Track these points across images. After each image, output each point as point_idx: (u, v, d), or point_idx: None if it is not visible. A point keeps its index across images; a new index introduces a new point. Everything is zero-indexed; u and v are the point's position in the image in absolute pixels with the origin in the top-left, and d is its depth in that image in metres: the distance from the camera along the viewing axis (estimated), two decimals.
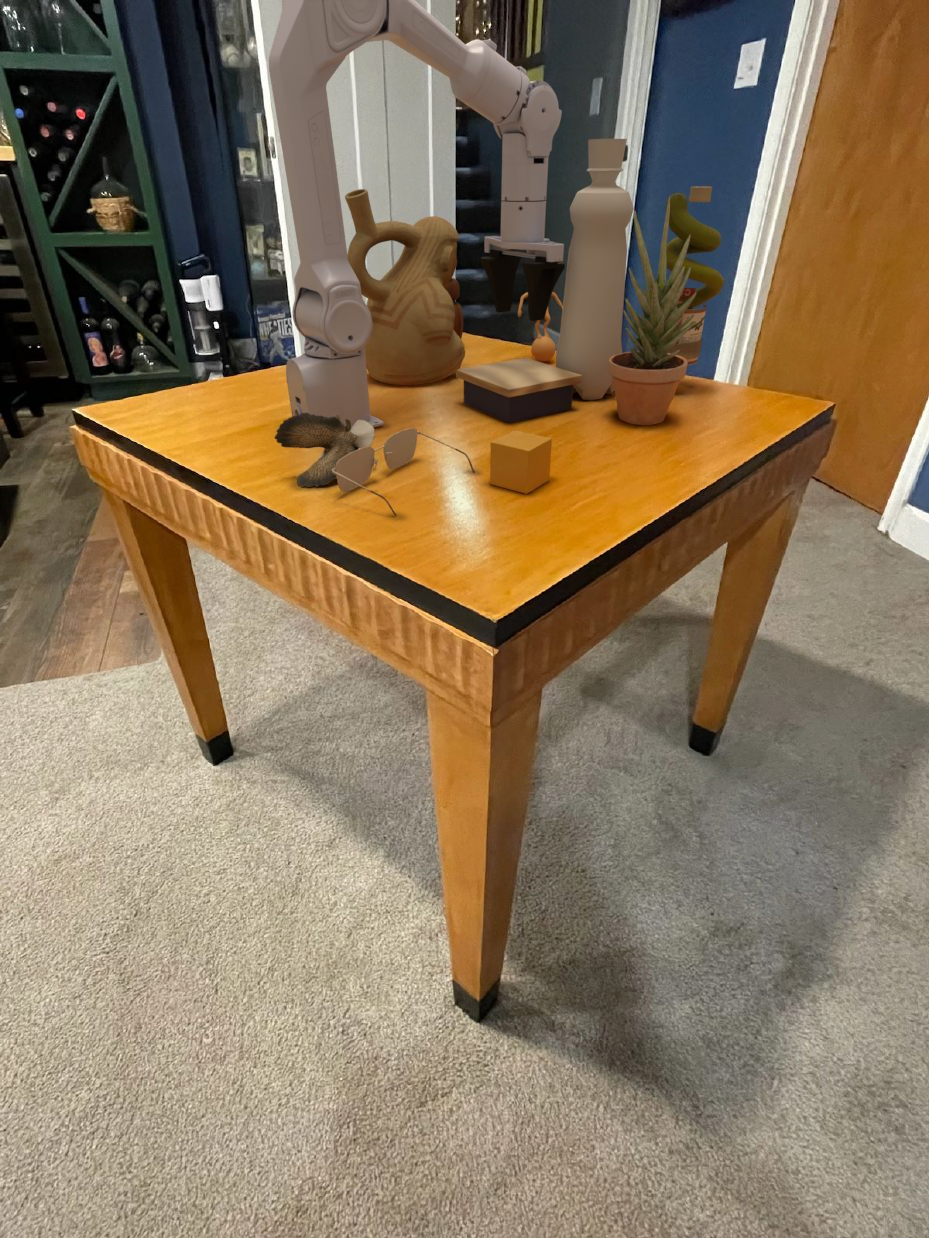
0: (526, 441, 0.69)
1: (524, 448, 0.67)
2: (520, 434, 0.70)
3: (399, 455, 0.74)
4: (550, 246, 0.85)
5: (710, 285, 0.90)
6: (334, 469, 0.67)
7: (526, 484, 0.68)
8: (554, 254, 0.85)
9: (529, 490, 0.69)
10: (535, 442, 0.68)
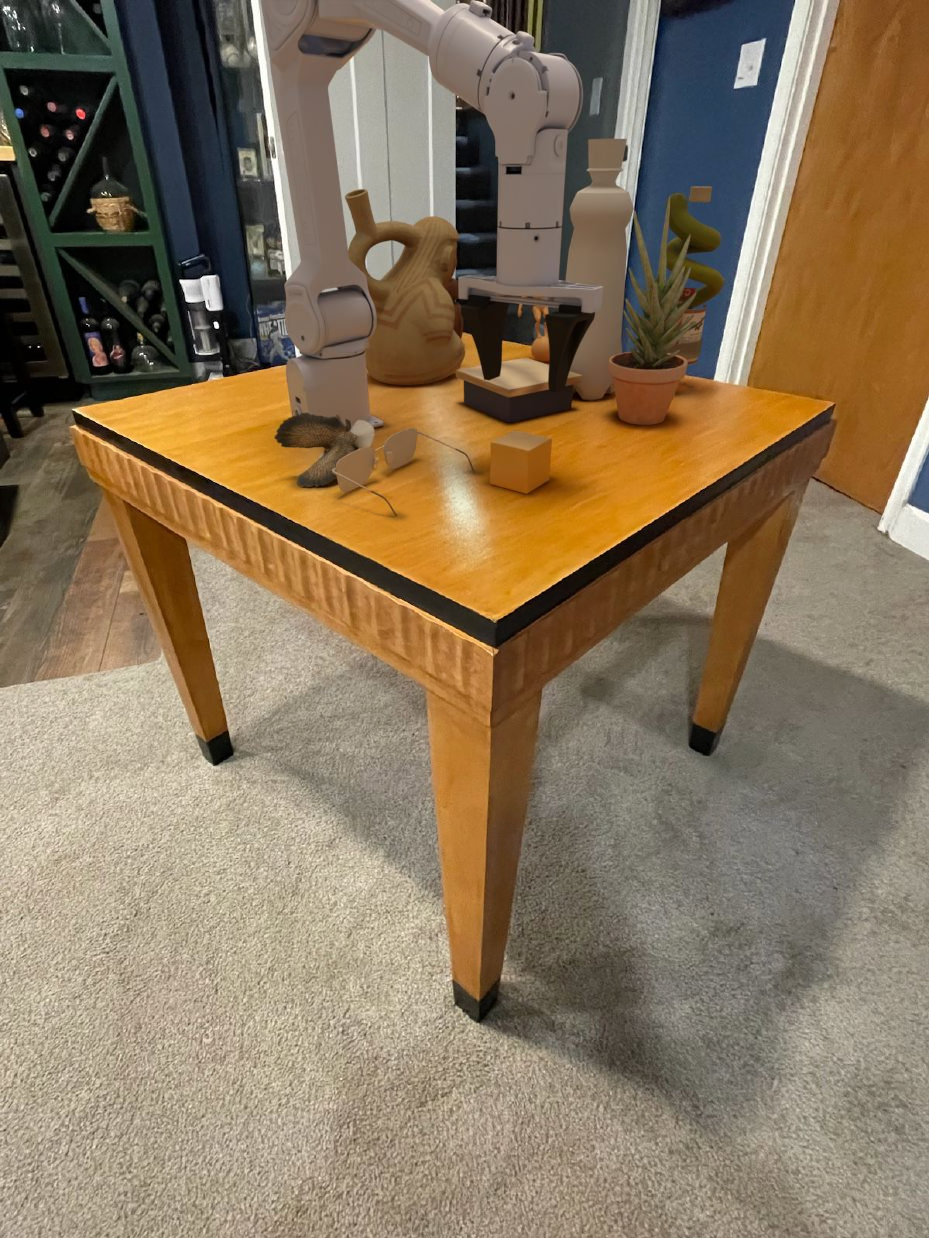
0: (526, 441, 0.69)
1: (524, 448, 0.67)
2: (520, 434, 0.70)
3: (399, 455, 0.74)
4: (590, 291, 0.59)
5: (710, 285, 0.90)
6: (334, 469, 0.67)
7: (526, 484, 0.68)
8: (594, 302, 0.60)
9: (529, 490, 0.69)
10: (535, 442, 0.68)
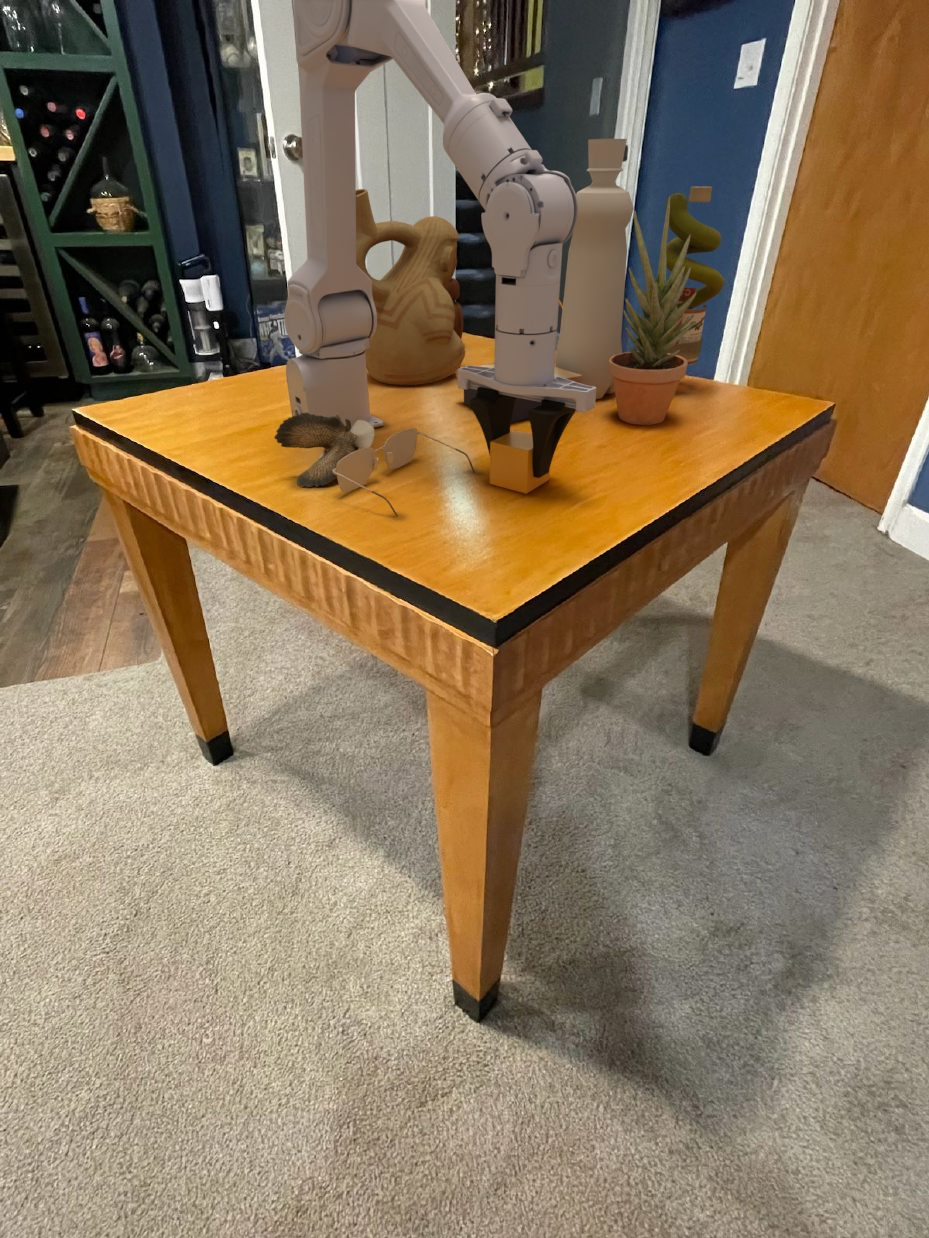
0: (526, 441, 0.69)
1: (524, 448, 0.67)
2: (520, 434, 0.70)
3: (399, 455, 0.74)
4: (583, 393, 0.62)
5: (710, 285, 0.90)
6: (335, 469, 0.67)
7: (526, 484, 0.68)
8: (588, 402, 0.62)
9: (529, 490, 0.69)
10: None
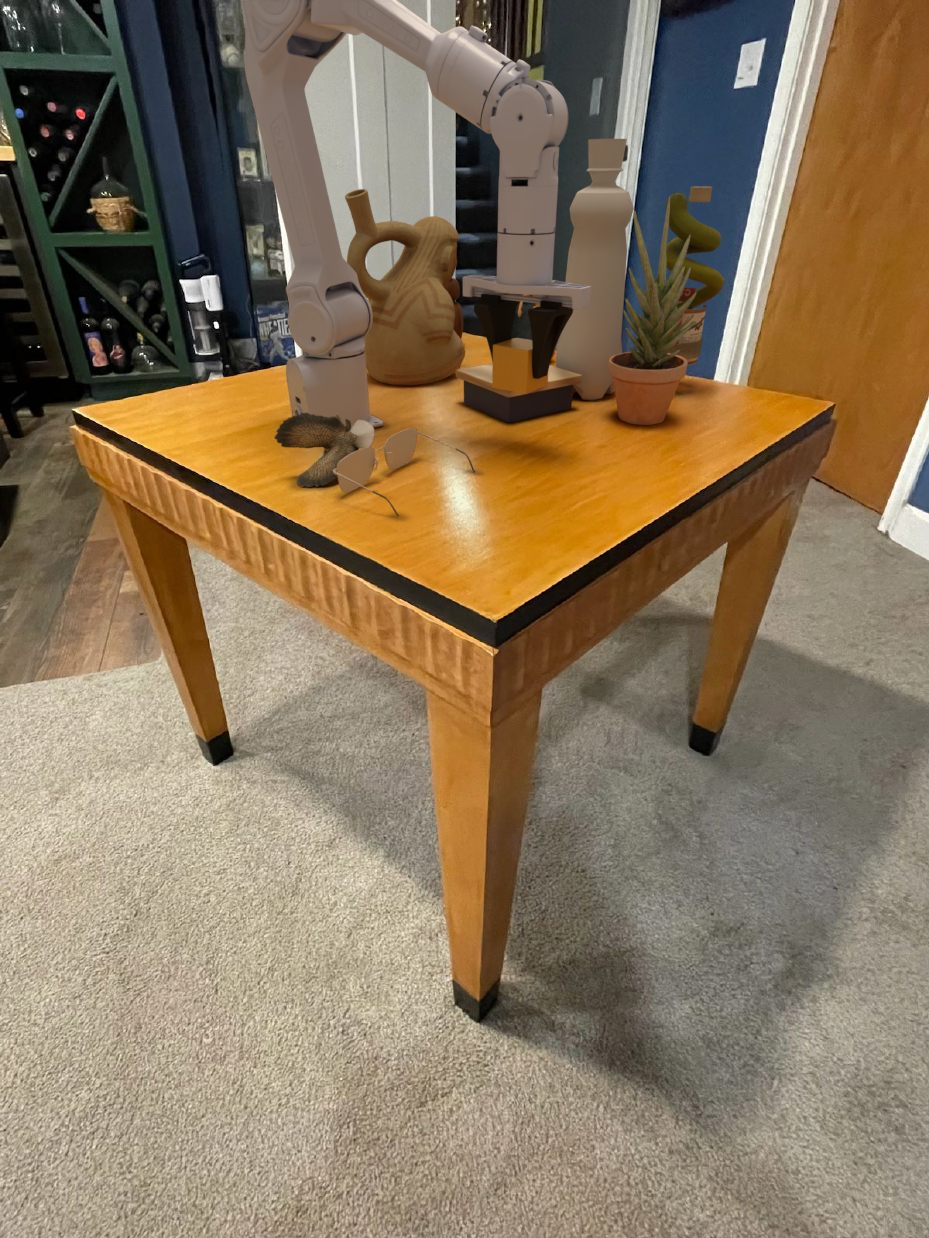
0: (526, 344, 0.74)
1: (524, 349, 0.72)
2: (520, 340, 0.75)
3: (399, 455, 0.74)
4: (579, 290, 0.67)
5: (710, 285, 0.90)
6: (335, 470, 0.67)
7: (526, 384, 0.73)
8: (583, 300, 0.67)
9: (528, 390, 0.74)
10: None
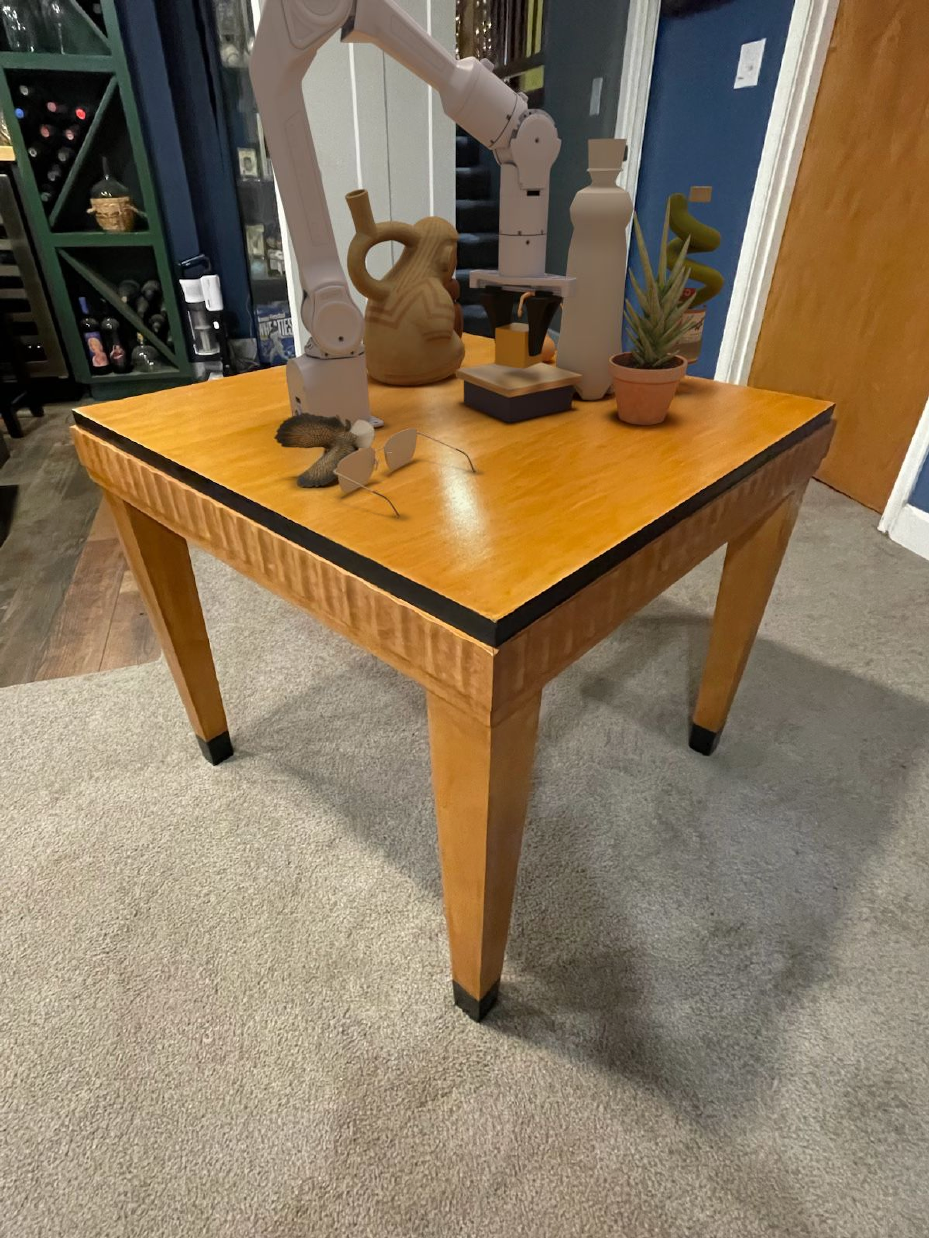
0: (523, 328, 0.88)
1: (522, 331, 0.86)
2: (518, 324, 0.89)
3: (399, 455, 0.74)
4: (567, 281, 0.81)
5: (710, 285, 0.90)
6: (336, 470, 0.67)
7: (523, 361, 0.88)
8: (570, 289, 0.81)
9: (525, 366, 0.88)
10: None
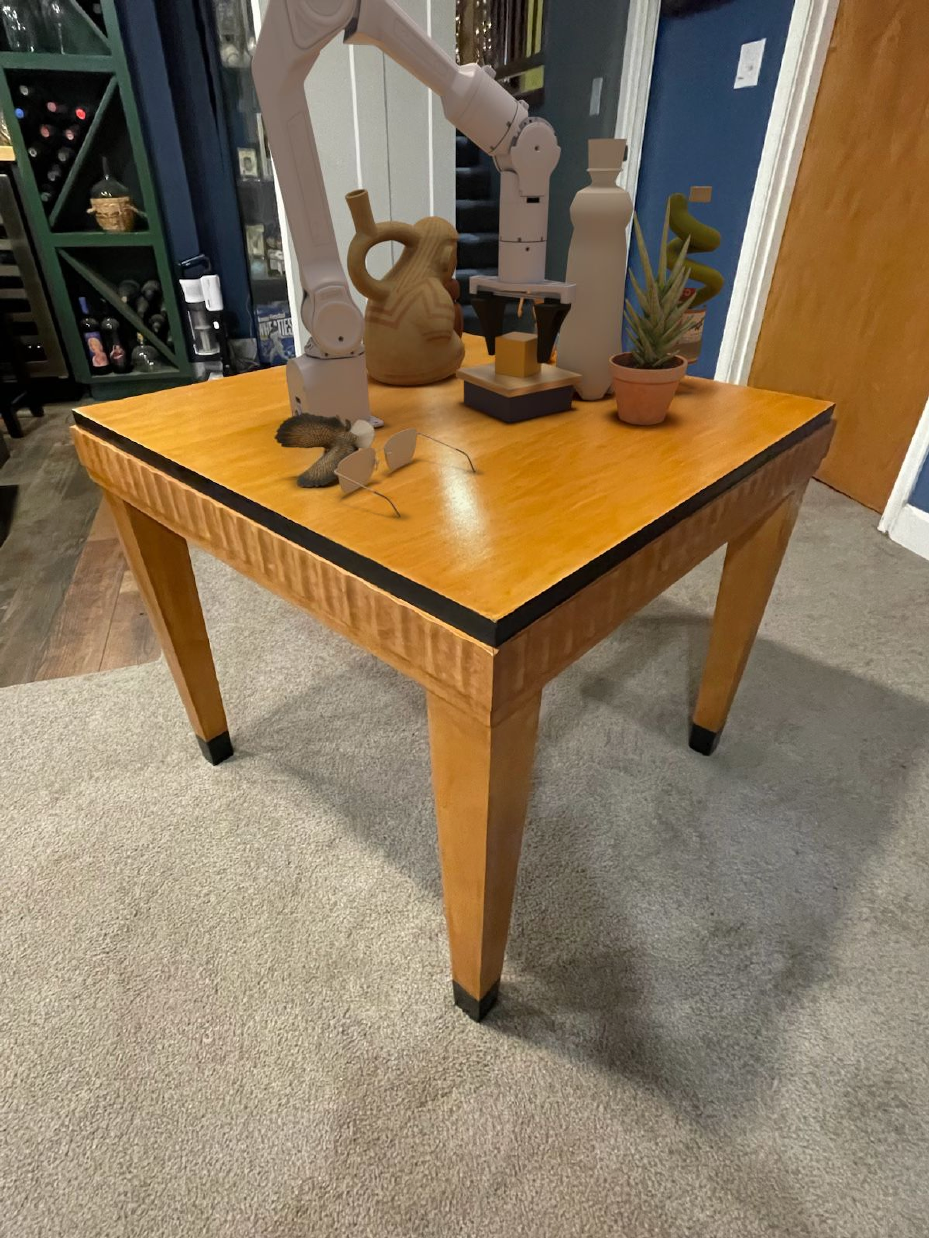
0: (523, 337, 0.88)
1: (521, 340, 0.87)
2: (518, 333, 0.90)
3: (399, 455, 0.74)
4: (566, 288, 0.81)
5: (710, 285, 0.90)
6: (336, 470, 0.66)
7: (523, 370, 0.88)
8: (570, 295, 0.82)
9: (525, 375, 0.89)
10: (530, 337, 0.88)
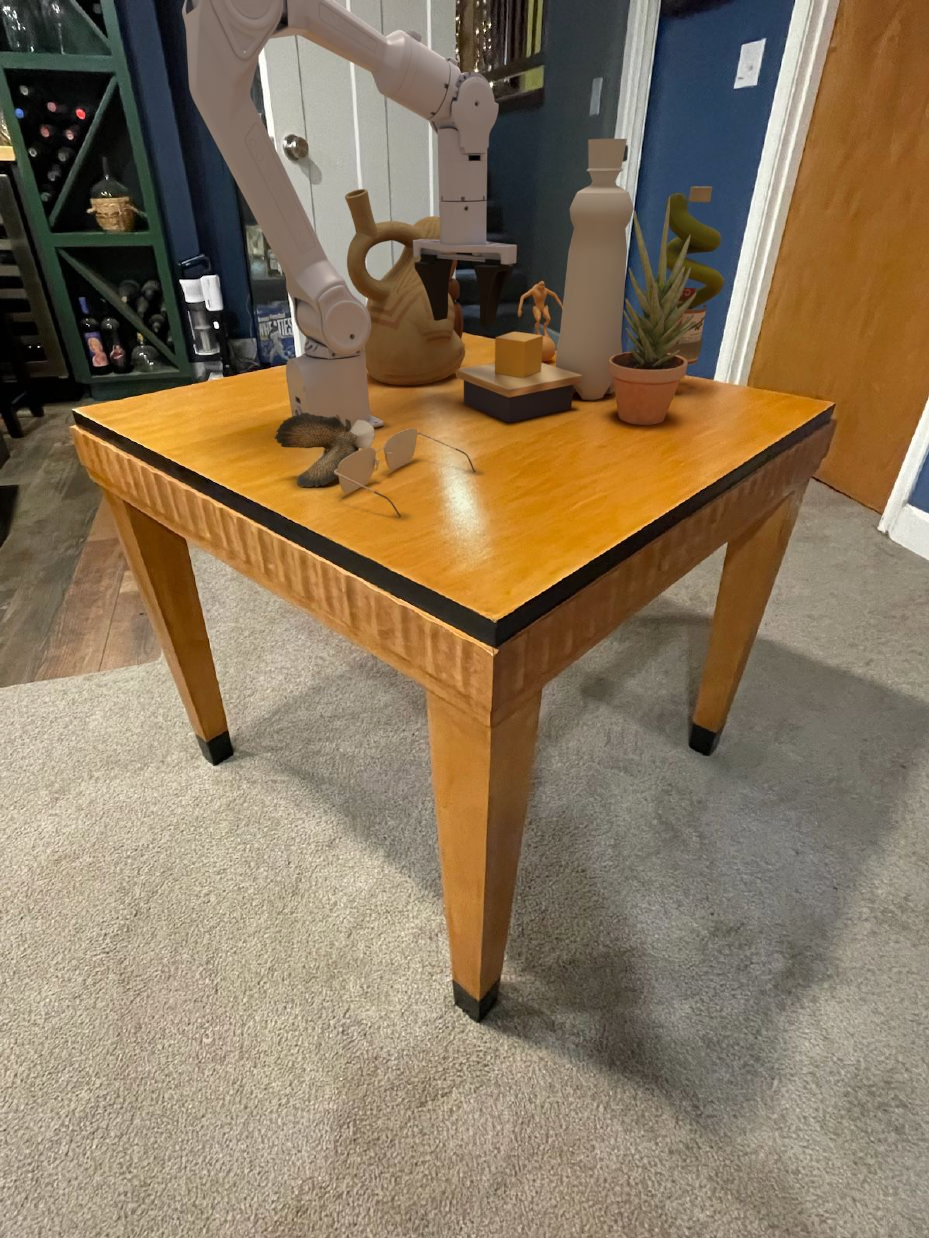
0: (523, 337, 0.88)
1: (521, 340, 0.87)
2: (518, 333, 0.90)
3: (399, 455, 0.74)
4: (505, 248, 0.80)
5: (710, 285, 0.90)
6: (336, 470, 0.66)
7: (523, 370, 0.88)
8: (509, 256, 0.81)
9: (525, 375, 0.89)
10: (530, 337, 0.88)
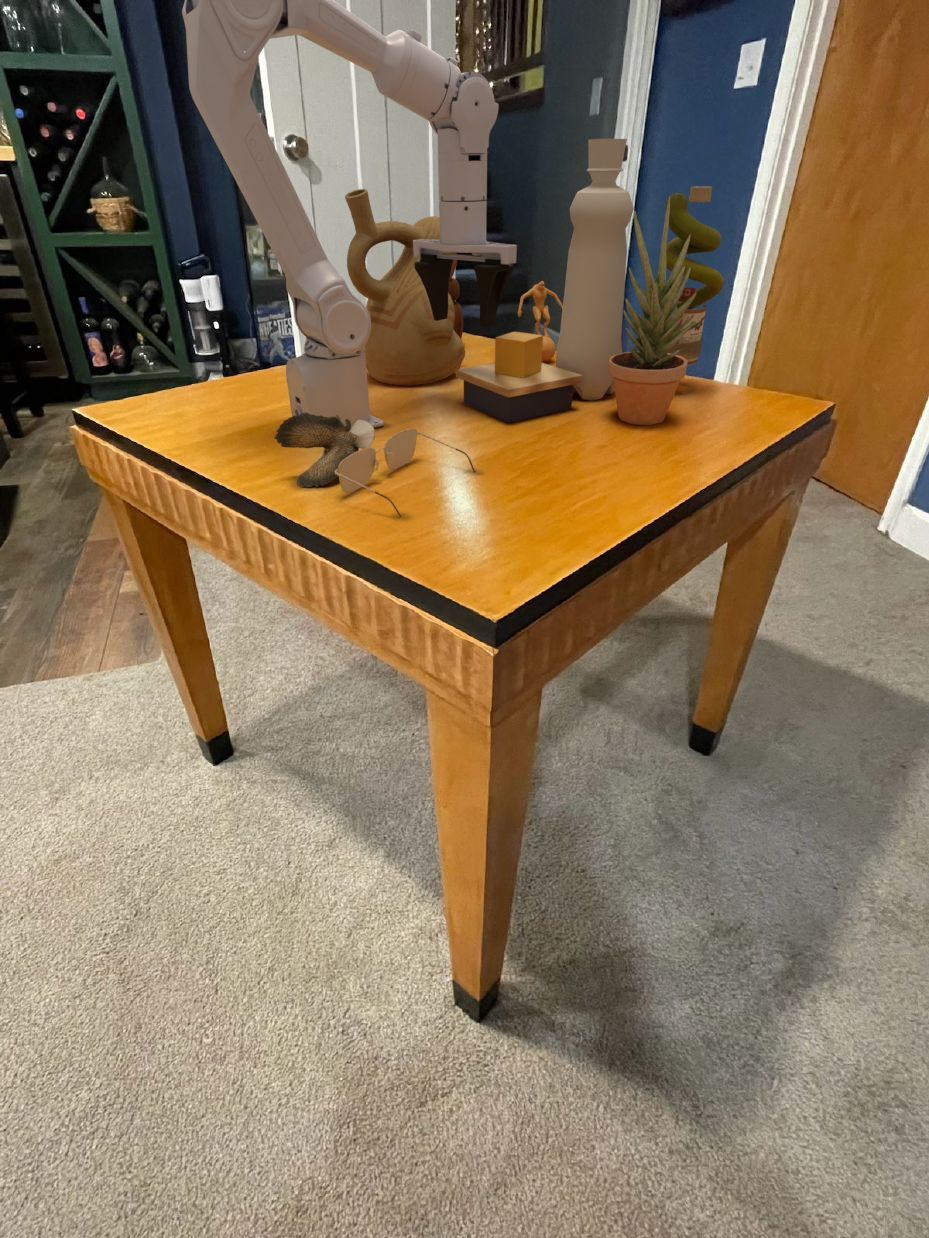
0: (523, 337, 0.88)
1: (521, 340, 0.87)
2: (518, 333, 0.90)
3: (399, 455, 0.74)
4: (505, 248, 0.80)
5: (710, 285, 0.90)
6: (337, 470, 0.66)
7: (523, 370, 0.88)
8: (509, 256, 0.81)
9: (525, 375, 0.89)
10: (530, 337, 0.88)
